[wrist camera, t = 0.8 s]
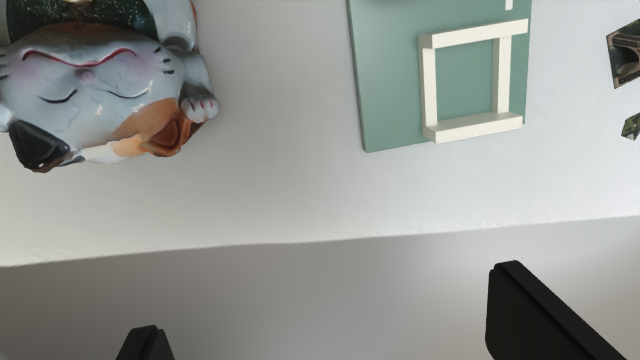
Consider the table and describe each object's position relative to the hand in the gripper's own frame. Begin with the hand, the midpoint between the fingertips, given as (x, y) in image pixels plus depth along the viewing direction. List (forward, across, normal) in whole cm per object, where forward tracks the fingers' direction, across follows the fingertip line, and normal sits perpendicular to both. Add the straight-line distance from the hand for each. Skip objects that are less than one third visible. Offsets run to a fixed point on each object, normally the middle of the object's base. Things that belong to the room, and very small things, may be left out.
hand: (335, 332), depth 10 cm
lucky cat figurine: (+25, +12, -9) cm, 29 cm away
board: (+24, -13, -8) cm, 29 cm away
